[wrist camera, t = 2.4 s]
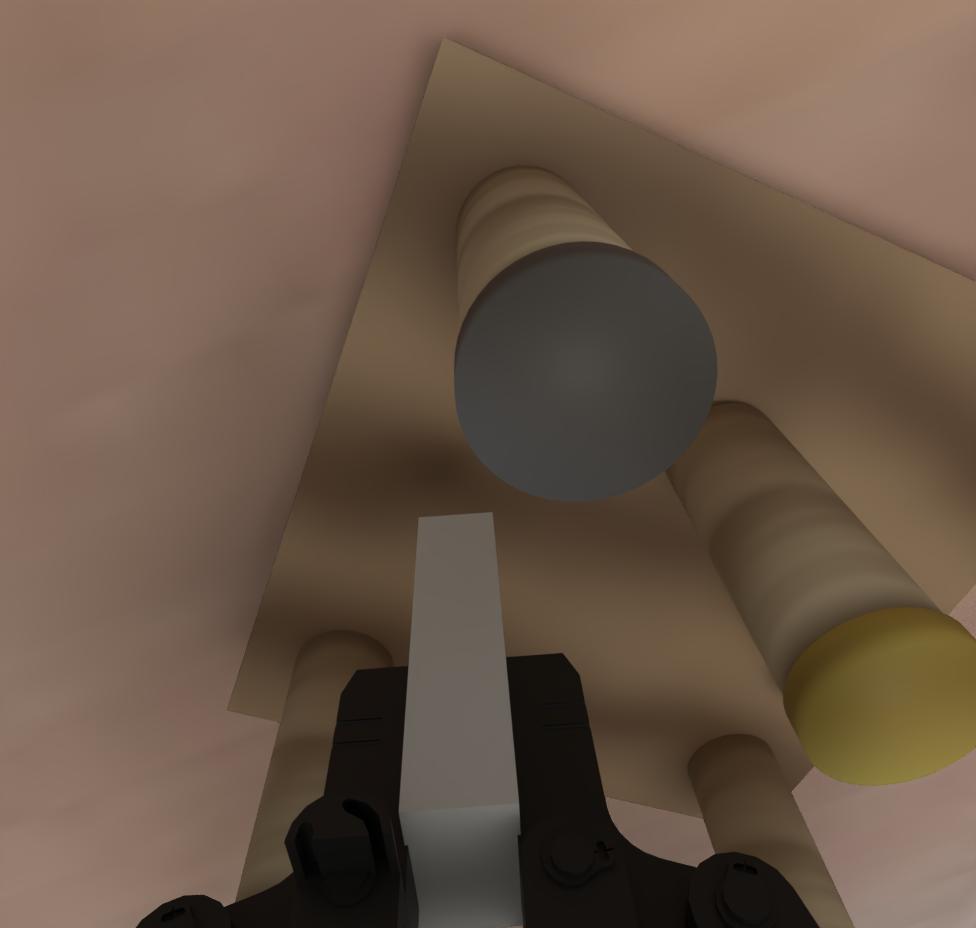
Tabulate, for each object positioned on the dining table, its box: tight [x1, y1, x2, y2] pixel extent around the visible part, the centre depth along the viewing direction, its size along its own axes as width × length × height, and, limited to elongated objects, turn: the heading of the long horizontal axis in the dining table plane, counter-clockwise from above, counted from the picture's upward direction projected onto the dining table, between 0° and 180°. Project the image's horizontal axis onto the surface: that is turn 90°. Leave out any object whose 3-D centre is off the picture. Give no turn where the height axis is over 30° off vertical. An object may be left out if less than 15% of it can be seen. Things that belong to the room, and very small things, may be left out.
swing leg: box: [666, 403, 976, 785], centre depth 17 cm, size 12×3×9 cm, turn 28°
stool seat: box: [227, 37, 976, 928], centre depth 18 cm, size 20×20×11 cm
